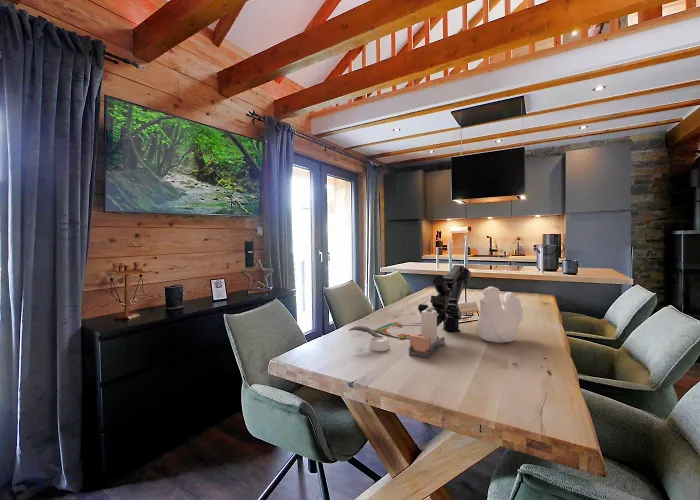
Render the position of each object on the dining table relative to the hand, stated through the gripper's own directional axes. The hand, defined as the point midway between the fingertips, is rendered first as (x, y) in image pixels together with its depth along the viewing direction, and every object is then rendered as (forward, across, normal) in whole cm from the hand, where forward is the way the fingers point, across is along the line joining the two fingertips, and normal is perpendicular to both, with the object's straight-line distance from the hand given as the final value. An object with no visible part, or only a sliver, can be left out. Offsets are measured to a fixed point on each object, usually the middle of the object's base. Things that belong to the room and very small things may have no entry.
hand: (434, 327), depth 144 cm
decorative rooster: (-9, +25, +19) cm, 33 cm away
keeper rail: (+11, 0, -1) cm, 11 cm away
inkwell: (+20, -21, -9) cm, 31 cm away
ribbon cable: (-2, -21, +13) cm, 25 cm away
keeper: (+8, 0, -1) cm, 8 cm away
